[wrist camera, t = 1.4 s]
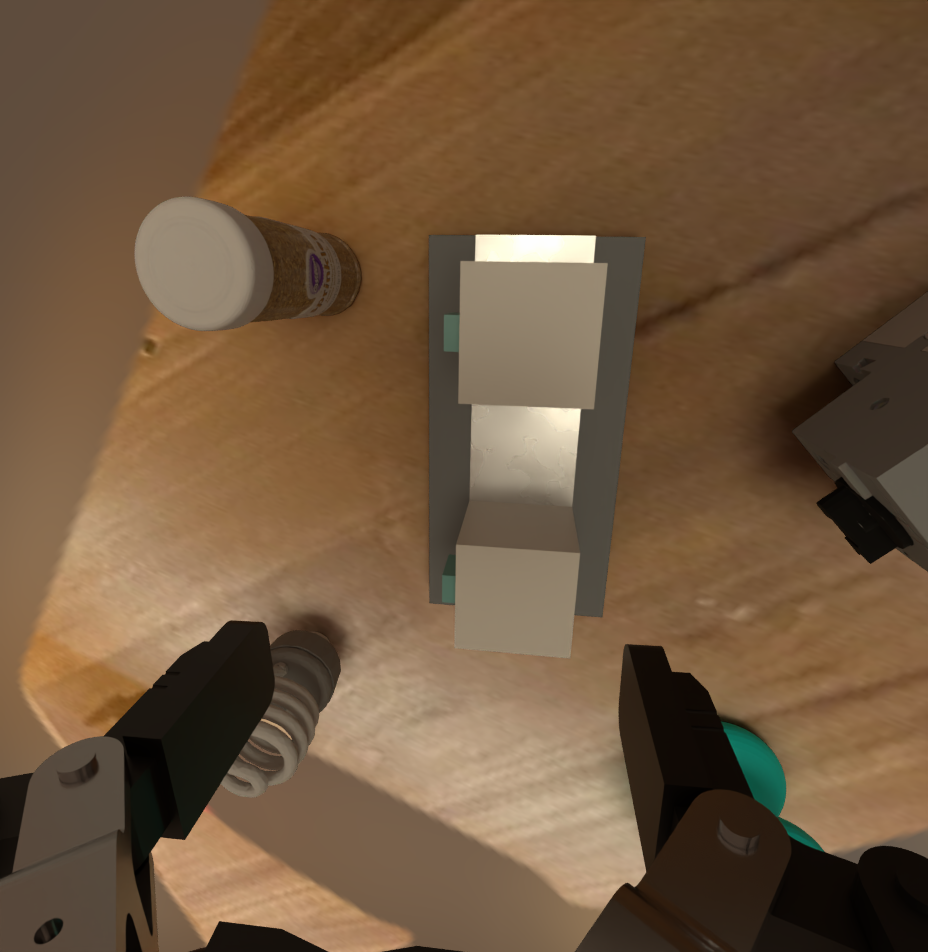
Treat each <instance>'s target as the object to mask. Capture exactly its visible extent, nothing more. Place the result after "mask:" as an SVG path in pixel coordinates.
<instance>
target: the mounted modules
mask: <svg viewBox="0 0 928 952" xmlns="http://www.w3.org/2000/svg"><path fill="white" fill-rule="evenodd" d="M607 266H608V263H562V262H494V261H460V313H456V312H451V313H448V314H445V315H444V351H446V352H459V388H458V404H478V405H502V406H525V407H549V408H572V409H594V402H595V392H596V381H597V371H598V360H599V350H600V339H601V329H602V318H603V308H604V297H605V287H606V276H607ZM579 560H580V549H579V544H578V538H577V532H576V526H575V520H574V515H573V509H572V507H566V506H550V505H534V504H517V503H501V502H484V501H469V504H468V507H467V510H466V514H465V517H464V520H463V524H462V527H461V530H460V533H459V537H458V540H457V543H456V555H450V554H449V556H448V559H447V562H446V565H445V568H444V571H443V574H442V602H445V603H455V647H454V648H459V649H470V650H482V651H493V652H504V653H515V654H526V655H537V656H549V657H560V658H570V655H571V644H572V634H573V623H574V613H575V602H576V591H577V581H578V570H579Z"/></svg>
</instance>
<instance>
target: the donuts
mask: <svg viewBox="0 0 928 952" xmlns="http://www.w3.org/2000/svg"><path fill="white" fill-rule="evenodd" d="M721 723H722V725H723V727H724V732H725V733H726V734H727V737H728V739H729V741H730V744H731V746H732V748H733V751H734V753H735V755H736V758H737V760H738V762H739V765H740V767H741V769H742V771H743V774H744V776H745V778H746V781H747V783H748V785H749V788H750V790H751V792H752V795H753V797H754V799H755V800H756V801H758V802H759V803H761V804H763V805H764V806H765V807H766V808H768V809H769V810H770V811H771V812H772V813H773V814H774V815H775V816H776V817H777V818H778V819H779V821H780V822H781V823H782V824H783V826H784V828H785V829H786V831H787V833H788V835H789V836H791V837H792V838H794V839H795V840H797V841H799V842H801V843H803V844H805V845H807V846H810V847H812V848H815V849H817V850H820V851H823V852H824V850H823V849H822V848H821V847H820V845H819V844H818V843H817V842H816V841H815V840H814V839H813V838H812V837H811V836H809V835H808V834H807V833H806V832H805V831H803V830H802V829H801V828H799V827H798V826H796V825H794V824H792V823H791V822H789V821H787V820H784V819H782V818H780V817H778V816H779V815H780V813H781V810H782V808H783V806H784V802H785V798H786V780H785V776H784V772H783V769H782V766H781V764H780V762H779V760H778V759H777V757H776V755H775V754H774V752H773V751H772V750H771V749H770V748H769V747H768V746H767V744H766V743H764V742H763V741H762V740H761V739H760V738H759V737H757V736H756V735H754V734H753V733H751V732H749V731H747V730H746V729H744V728H741V727H739V726H737V725H734V724H730V723H727V722H722V721H721Z"/></svg>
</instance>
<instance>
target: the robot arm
mask: <svg viewBox="0 0 928 952" xmlns="http://www.w3.org/2000/svg"><path fill="white" fill-rule="evenodd" d="M274 688H275V677H274V670H273V663H272V656H271V649H270V643H269V636H268V630H267V627H266V625H265V624H264V623H263V622H249V621H232V620H231V621H228V622H227V623H226V624H225V625H224V626H223V627H222V628H221V629H220V630H219V631H218V632H217V633H216V634H215V636H214V637H213V638H212V639H211V640H210V641H209V642H205V641H204V642H202V643H200V644H199V645H197V646H195V647H194V648H192V649H191V650H189V651H187V652H186V653H184V654H182V655H181V656H180V657H179V658H178V659H177V660H176V661H175V662H174V663H173V664H172V666H171V667H170V668H169V669H168V670H167V671H166V674H165V675H162V676H161V677H160V678H159V679H158V680H157V681H156V682H155V683H154V684H153V688H152V689H151V688H149V689H148V691H147V692H146V693H145V694H144V695H143V696H142V697H141V698H140V699H139V700H138V701H137V702H136V703H135V704H134V705H133V706H132V707H131V708H130V709H129V710H128V711H127V712H126V713H125V715H124V716H123V717H122V718H121V719H120V720H119V721H118V722H117V723H116V724H115V725H114V726H113V727H112V728H111V729H110V730H109V731H108V732H107V733H106V734H105V735H104V736H101V737H93V738H88V739H84V740H81V741H78V742H75V743H73V744H71V745H68V746H66V747H64V748H63V749H61V750H59V751H57V752H56V753H54V754H53V755H52V756H50V757H49V758H48V759H46V760H45V761H44V762H43V763H42V764H41V765H40V766H39V767H38V768H37V769H36V771H35V772H34V773H29V774H23V775H18V776H12V777H6V778H1V779H0V952H159V945H158V929H157V911H156V894H155V878H154V862H153V857H152V853H151V850H152V849H153V848H154V846H155V845H156V843H157V842H158V840H159V839H160V837H163V838H172V839H182V840H185V839H186V837H187V836H188V834H189V833H190V831H191V829H192V828H193V826H194V825H195V823H196V822H197V820H198V818H199V817H200V815H201V814H202V812H203V810H204V809H205V807H206V806H207V804H208V803H209V801H210V799H211V798H212V796H213V795H214V793H215V791H216V790H217V788H218V787H219V785H220V784H221V782H222V780H223V779H224V777H225V776H226V774H227V773H228V771H229V769H230V768H231V766H232V765H233V763H234V761H235V760H236V758H237V757H238V755H239V754H240V752H241V750H242V749H243V747H244V746H245V744H246V742H247V741H248V739H249V738H250V736H251V735H252V733H253V731H254V730H255V728H256V727H257V725H258V723H259V722H260V720H261V719H262V717H263V716H264V714H265V712H266V711H267V709H268V707H269V706H270V703H271V701H272V698H273V694H274ZM619 729H620V737H621V742H622V747H623V752H624V758H625V763H626V768H627V773H628V778H629V784H630V789H631V794H632V799H633V804H634V810H635V815H636V820H637V825H638V830H639V836H640V841H641V846H642V851H643V856H644V862H645V867H646V874H645V875H644V877H643V878H642V880H641V881H640V882H639V884H638V885H637V886H636V887H633V886H632V885H630V884H629V883H625V884H624V885H622V886H621V887H620V888H619V889H618V890H617V891H616V893H615V894H614V895H613V897H612V898H611V900H610V901H609V903H608V904H607V905H606V907H605V908H604V910H603V911H602V913H601V914H600V916H599V917H598V919H597V920H596V922H595V923H594V925H593V926H592V927H591V929H590V930H589V932H588V933H587V935H586V936H585V938H584V939H583V940H582V942H581V943H580V945H579V946H578V948H577V950H576V951H575V952H928V859H927V858H925V857H923V856H921V855H919V854H917V853H914V852H912V851H909V850H906V849H902V848H898V847H893V846H877V847H873V848H870V849H868V850H867V851H865V852H864V853H863V854H862V856H861V857H860V860H859V863H858V864H856V863H853V862H850V861H848V860H845V859H842V858H839V857H837V856H834V855H831V854H828V853H826V852H823V851H820V850H817V849H815V848H812V847H810V846H807V845H805V844H803V843H801V842H799V841H797V840H795V839H794V838H792V837H791V836H789V835H788V833H787V831H786V829H785V828H784V826H783V824H782V823H781V822H780V821H779V819H778V818H777V817H776V816H775V815H774V814H773V813H772V812H771V811H770V810H769V809H768V808H766V807H765V806H764V805H763V804H761V803H759V802H758V801H756V800H755V799H754V797H753V795H752V792H751V790H750V788H749V785H748V783H747V781H746V778H745V776H744V774H743V771H742V769H741V767H740V765H739V762H738V760H737V758H736V755H735V753H734V751H733V748H732V746H731V744H730V741H729V739H728V737H727V734H726V733H725V732H724V727H723V725H722V723H721V720H720V718H719V716H718V715H717V711H716V709H715V706H714V704H713V702H712V699H711V697H710V695H709V692H708V691H707V690H706V689H705V688H704V687H703V686H702V685H701V684H700V683H699V682H698V681H697V680H696V679H695V678H694V677H693V676H692V675H691V674H690V673H683V672H672V671H671V668H670V665H669V663H668V660H667V657H666V654H665V651H664V649H663V647H662V646H648V645H631V644H626V645H625V647H624V652H623V663H622V674H621V685H620V696H619ZM190 952H328V951H326V950H324V949H322V948H320V947H317V946H315V945H313V944H311V943H309V942H307V941H305V940H303V939H301V938H299V937H297V936H295V935H293V934H291V933H289V932H287V931H285V930H283V929H277V928H269V927H261V926H253V925H245V924H237V923H229V922H221V921H219V923H218V925H217V927H216V929H215V931H214V933H213V935H212V937H211V939H210V941H209V943H208V945H207V947H205V948H200V949H196V950H193V951H190ZM384 952H461V951H453V950H445V949H437V948H429V947H421V946H414V947H408V948H402V949H396V950H390V951H384Z"/></svg>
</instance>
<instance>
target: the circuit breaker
mask: <svg viewBox="0 0 928 952" xmlns="http://www.w3.org/2000/svg"><path fill="white" fill-rule="evenodd" d="M835 364H836V365H837V366H838V368H839V369H840V370H841V371H842V373H843V374H844V375H845V376H846V378H847V379H848V380H849V382H850V383H851V384H852V385H853V386H852V387H851V388H850V389H848V390H847V391H846V392H844V393H843V394H842V395H840V396H839V397H837V398H836V399H835V400H833V401H832V402H831V403H829V404H828V405H826V406H825V407H824V408H822V409H821V410H820V411H818V412H817V413H816V414H814V415H813V416H811V417H810V418H809V419H807V420H806V421H805V422H803V423H802V424H800V425H799V426H798V427H796V428H795V429H794V430H793V431H792V432H793V434H794V435H795V436H796V437H797V439H798V440H799V441H800V442H801V443H802V445H803V446H804V447H805V448H806V449H807V451H808V452H809V453H810V454H811V455H812V457H813V458H814V459H815V460H816V462H817V463H818V464H819V465H820V466H821V468H822V469H823V470H824V471H825V472H826V474H827V475H828V476H829V477H830V478H831V479H832V480H833V481H834V482H835V484H836V486H837V489H836V490H834V491H833V492H831V493H830V494H828V495H827V496H825V497H824V498H822V499H821V500H820V501H818V502H817V503H816V504H817V505H818V507H819V508H820V509H821V510H822V511H823V512H824V514H825V515H826V516H827V517H829V518H830V519H832V520H833V521H834V523H835V524H836V525H837V526H838V527H839V529H840V530H841V531H842V532H843V533H844V535H845V536H846V537H845V539H846V540H847V541H848V542H849V544H850V545H851V546H852V547H853V548H854V550H855V551H856V552H857V553H858V554H859V555H860V554H861V555H862V556H863V557H864V558H865V559H866V560H867V561H868V562H869V563H870V564H871V563H873V562H874V561H876V560H877V559H879V558H881V557H882V556H884V555H885V554H887V553H888V552H890V551H892V550H893V549H895V548H896V549H897V550H899V551H900V552H901V553H903V554H904V555H905V556H907V557H908V558H910V559H911V560H912V561H914V562H915V563H917V564H918V565H919V566H921V567H922V568H923V569H925V570H926V571H928V292H927V293H925V294H924V295H923V296H921V297H920V298H919V299H917V300H916V301H915V302H913V303H912V304H911V305H909V306H908V307H907V308H905V309H904V310H903V311H901V312H900V313H899V314H897V315H896V316H895V317H893V318H892V319H891V320H889V321H888V322H887V323H885V324H884V325H883V326H881V327H880V328H879V329H877V330H876V331H875V332H873V333H872V334H871V335H869V336H868V337H867V338H865V339H864V340H863V341H861V342H860V343H859V344H857V345H856V346H855V347H853V348H852V349H851V350H849V351H848V352H847V353H845V354H844V355H843V356H841V357H840V358H839V359H837V360H836V361H835Z"/></svg>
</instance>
